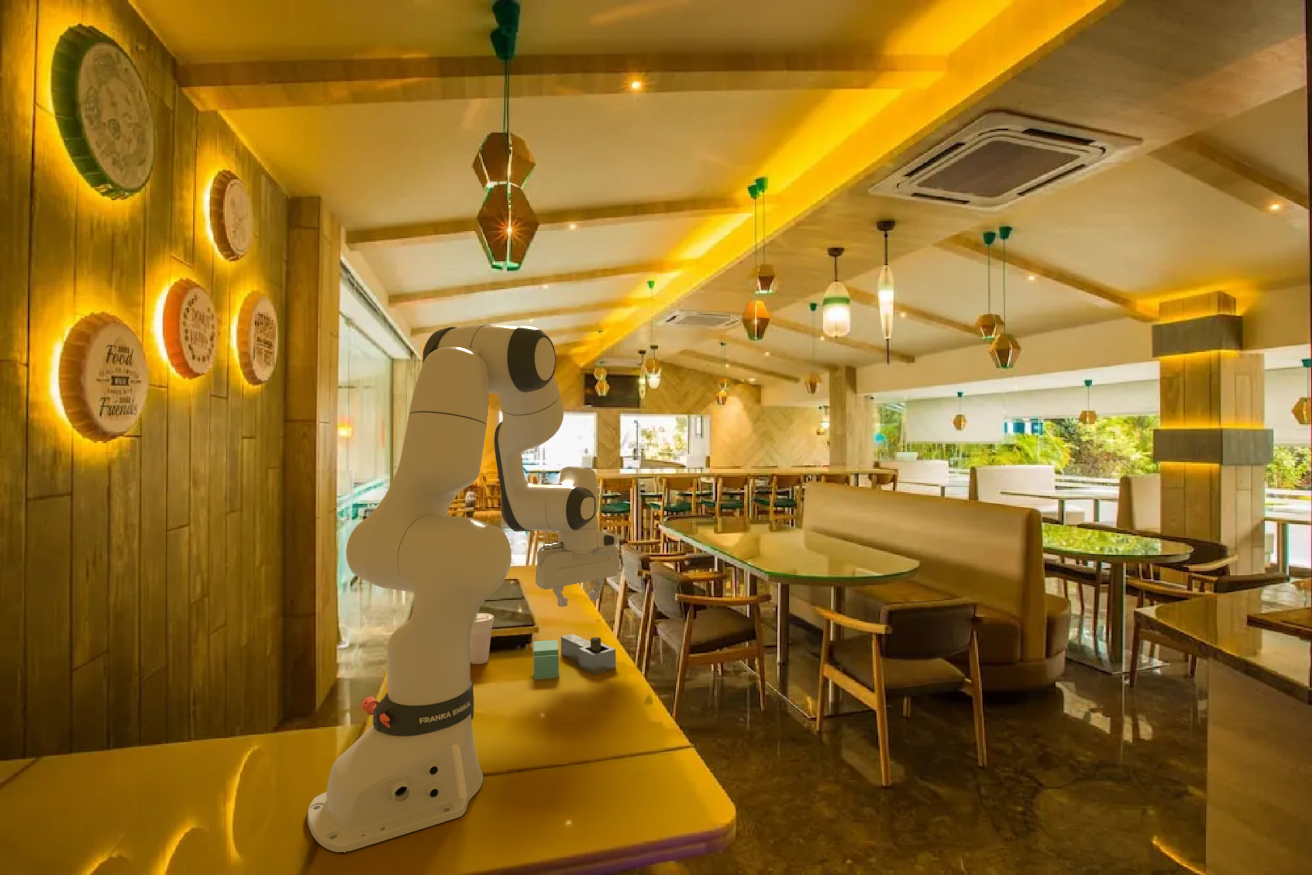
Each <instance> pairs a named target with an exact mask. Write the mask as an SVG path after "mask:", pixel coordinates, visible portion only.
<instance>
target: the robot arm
mask: <svg viewBox="0 0 1312 875" xmlns="http://www.w3.org/2000/svg"><path fill="white" fill-rule="evenodd" d="M556 355H557V354H556V349H555V346H554V343H553V342H552V339H551V338H550V337H549V336H548V335H547V334H546V332H544V331H543V329H541V328H537V327H533V326H530V325H529V326H527V325H519V326H510V325H491V324H475V325H473V324H472V325H466V326H460V327H457V326H449V327H445V328H442V329H438V330H437V331H434V332H433V333H432V334H431V335H430V336H429V338H428V339H427V341H426V343H425V344H424V347H423V350H422V365H421V368H420V371H419V374H418V377H417V380H416V382H415V387H414V389H413V393H412V398H411V401H410V406H409V412H408V415H407V416H408V417H407V421H406V422H407V423H406V429H405V432H404V433H405V434H404V439H403V443H402V449H401V455H400V460H399V464H398V467H397V470H396V472H395V475H394V477H393V478H392V481H391V484H390V486H389V487H388V489H387V491H386V493H385V495H384V496H383V498H382V499H381V501H380V503H379V504H378V505H377V507H376V508H375V509H374V510H373V511H372V513H371V514H370V515H368V516H367V517H365V519H363V520H361V521H360V522H359V523H358V524H357V525H356V526H355V527H354V529H353V530H352V532H351V533H350V534H349V538H348V539H347V543H346V550H345V552H346V553H345V554H346V561H347V565H348V568H349V569H350V571H351V572H352V573H353V574H354V575H355V577H357V578H359V579H361V580H364V581H366V582H368V584H369V583H370V584H372V585H374V586H377V587H379V588H381V589H386V590H387V589H389V590H396V591H403V592H408V593H409V592H411V593H413V595H414V603H413V609H412V612H411V616H410V617H409V618H410V619H409V620H408V621H406V622H404V623H403V624H401V625H400V626H399V627H397V628H396V629H395V630H394V631H393V632H392V634H391V635H390V637H389V639H388V641H387V645H386V650H387V651H386V653H387V654H386V656H387V657H386V658H387V659H386V664H387V666H386V667H387V668H386V669H387V692H386V693H385V695H384V696H383V698H382V699H381V700H380V701H378V700H377V698H375V696H367V697H366V698H364V699H363V701H362V702H361V704H362V705H361V709H362V710H363V711H364V712H365V714H367V715H368V716H372V726H370V728H368V729H367V730H366V731H365V732H364V733H363V734H362V735H361V736H360V737H359V738H358V739H357V740H356V741H355V742H354V743H352V745H351V746H349V747H348V748H347V749H346V750H345V751H344V752H343V753H342V754H341V755H340V756H338V757H337V758H336V760H335V761H334V762H333V764H332V767H331V769H330V773H329V775H328V781H327V785H326V791H325V792H322V793H321V794H319V795H316V796H315V797H314V798H313V800H312V801H311V802H310V804H309V806H308V810H307V825H308V829H309V831H310V833H311V835H312V837H313V839H315V841H316V842H317V843H318V844H319V845H320V846H322V847H323V848H324V849H327V850H329V851H331V852H335V853H339V852H344V853H348V852H351V851H355V850H358V849H361V848H365V847H368V846H371V845H373V844H377V843H380V842H384V841H387V840H390V839H393V838H396V837H400V836H403V835H406V834H409V833H412V832H413V833H414V832H416V831H419V830H423V829H426V828H429V827H432V826H436V825H438V824H439V825H440V824H441V823H442V824H443V823H445V822H447V821H452V820H454V819H457V818H460V817H462V816H463V815H465V813H466V812H467V810H468V805H469V802H470V801H471V799H472V798H473V797H475V795H476V794H477V792H479V790H480V789H481V788H482V785H483V781H484V775H483V772H482V768H481V765H480V762H479V758H478V755H477V754H478V753H477V749H476V745H475V744H476V743H475V738H474V730H473V729H474V728H473V721H472V720H474V715H475V712H474V710H475V708H474V707H475V696H474V683H473V681H472V680H471V660H470V646H471V634H472V628H473V624H474V621H475V618H476V615H477V613H479V610H480V608H481V607H482V605H483V604H484V602H485V601H486V600H487V599H488V597H489V596H491V595H492V594H493V593H495V592H496V591H498V589H499V588H500V587H501V586H502V585H503V583H504V582H505V580H506V578H507V576H508V574H509V572H510V568H511V566H512V565H511V564H512V549H511V544H510V540H509V538H508V537H507V535H506V533H505V532H504V530H503V529H501V528H500V527H498V526H496V525H493V524H491V523H488V522H486V521H482V520H480V519H476V518H473V517H467V516H466V517H465V516H450V515H449V516H448V515H447V514H448V511H449V509H450V506H451V504H452V503H453V501H454V500H455V498H456V497H457V495H459V494H460V493H461V492H462V491H464V490H465V489H466V488H468V487H469V486H471V485H472V484H473V483H475V481H476V480H477V479H478V477H479V475H480V473H481V467H482V461H483V460H482V459H483V453H484V448H485V447H484V446H485V440H486V432H487V426H488V417H489V416H488V415H489V405H490V404H489V403H490V402H489V401H490V400H489V399H490V394H496V397H497V400H498V403H499V407H500V410H501V414H502V421H500V422H499V423H498V424H497V426H496V428H495V431H494V435H493V436H494V437H493V443H494V446H493V447H494V454H495V462H496V469H497V475H498V480H499V489H500V510H501V511H500V513H501V518H502V520H503V521H504V523H505V524H506V525H507V527H508V528H510V529H511V530H512V531H513V532H517V533H519V532H520V533H522V532H532V531H533V532H534V531H535V532H537V531H538V532H558V536H557V537H558V542H554V543H551V544H549V543H546V544H543V545H542V546H541V547H540V548H539V549H538V551H537V553H536V570H535V585H536V586H537V587H538V588H540V589H543V590H550V589H551V590H552V592H553V593H554V595H555V596H556V598H557V606H558V607H560V608H564V607H567V606H569V605H568V600H569V599H568V597H565V596H564V594H563V592H564V587H566V586H567V587H568V586H571V585H577V584H582V583H586V582H592V581H593V582H594V586H593V588H592V590H589V599H590V600H593V601H594V600H599V599H600V598H601V595H600V594H601V590H602V588H603V586H604V584H605V579H606V578H613V577H616V576H617V575H618V574H619V572H620V568H621V567H620V566H621V565H620V564H621V563H620V551H619V548H618V547H617V545H618V538H619V537H618V535H614V534H611V533H607V532H604V531H602V530H600V525H599V520H598V515H597V514H598V510H599V507H600V506H599V501H600V499H599V488H598V486H599V485H598V480H597V475H596V471H595V470H594V469H593V468H590V467H586V466H576V465H575V466H574V465H572V466H565V467H563V468H561V470H560V474H559V475H560V476H559V482H558V483H557V484H536V483H531V482H530V481H527V480H526V478H525V471H524V470H525V469H524V464H523V454H522V453H523V452H526V451H528V450H532V449H534V448H538V447H539V446H541V445H543V444H545V443H546V442H548V441H549V440H550V439H552V438H553V437H554V436H555V435H556V433H557V432H559V430H560V428H561V426H562V424H563V421H564V406H563V401H562V396H561V394H560V389H559V386H558V383H557V379H556V378H555V372H556V367H557V364H556V363H557V357H556ZM347 851H348V852H347Z"/></svg>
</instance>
